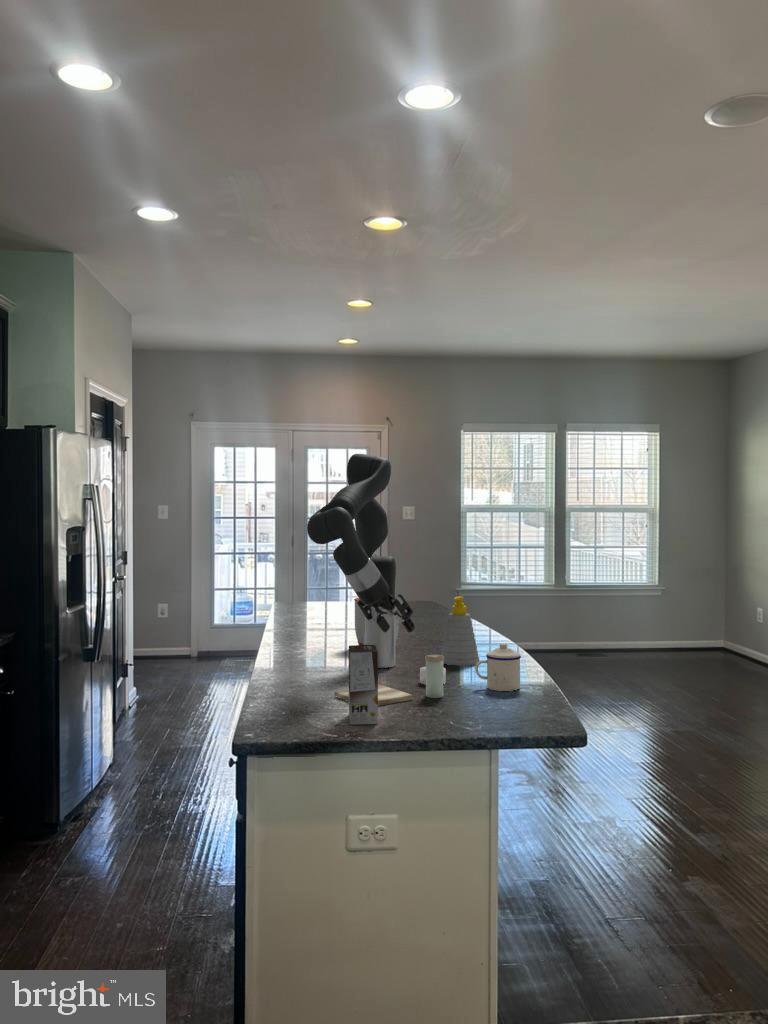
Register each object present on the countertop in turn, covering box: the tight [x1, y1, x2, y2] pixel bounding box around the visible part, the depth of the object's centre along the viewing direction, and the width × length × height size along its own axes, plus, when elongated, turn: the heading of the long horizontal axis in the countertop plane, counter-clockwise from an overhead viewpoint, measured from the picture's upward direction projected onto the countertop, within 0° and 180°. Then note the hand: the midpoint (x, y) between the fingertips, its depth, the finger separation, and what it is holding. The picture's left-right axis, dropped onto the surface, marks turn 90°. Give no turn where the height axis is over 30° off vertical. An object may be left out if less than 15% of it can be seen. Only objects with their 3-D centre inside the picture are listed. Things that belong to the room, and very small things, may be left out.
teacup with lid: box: [474, 643, 522, 692], centre depth 204 cm, size 12×9×12 cm
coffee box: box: [348, 644, 379, 726], centre depth 173 cm, size 9×6×16 cm
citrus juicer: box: [353, 597, 402, 645], centre depth 265 cm, size 16×17×20 cm
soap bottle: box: [440, 596, 481, 667], centre depth 239 cm, size 12×12×20 cm
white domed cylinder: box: [419, 666, 447, 686], centre depth 210 cm, size 7×7×4 cm
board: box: [334, 684, 414, 707], centre depth 193 cm, size 14×14×1 cm
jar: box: [424, 654, 444, 699], centre depth 195 cm, size 5×5×10 cm
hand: (399, 630), depth 188 cm, fingers open, 8 cm apart
